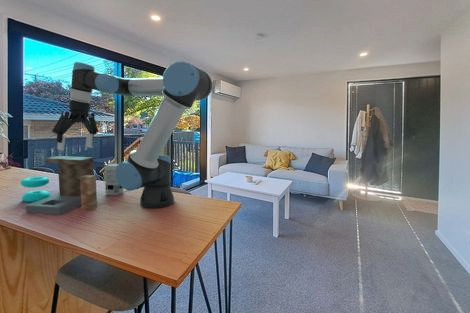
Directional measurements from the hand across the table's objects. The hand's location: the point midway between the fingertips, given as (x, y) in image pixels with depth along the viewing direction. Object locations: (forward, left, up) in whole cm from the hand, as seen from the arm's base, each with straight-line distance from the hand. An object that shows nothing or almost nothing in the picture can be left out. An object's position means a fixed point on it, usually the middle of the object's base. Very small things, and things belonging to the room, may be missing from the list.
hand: (75, 148), depth 106 cm
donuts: (+20, 0, -25) cm, 32 cm away
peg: (-10, +6, -25) cm, 27 cm away
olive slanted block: (+4, -1, -25) cm, 25 cm away
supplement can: (-8, -16, -25) cm, 30 cm away
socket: (+3, +8, -25) cm, 26 cm away
